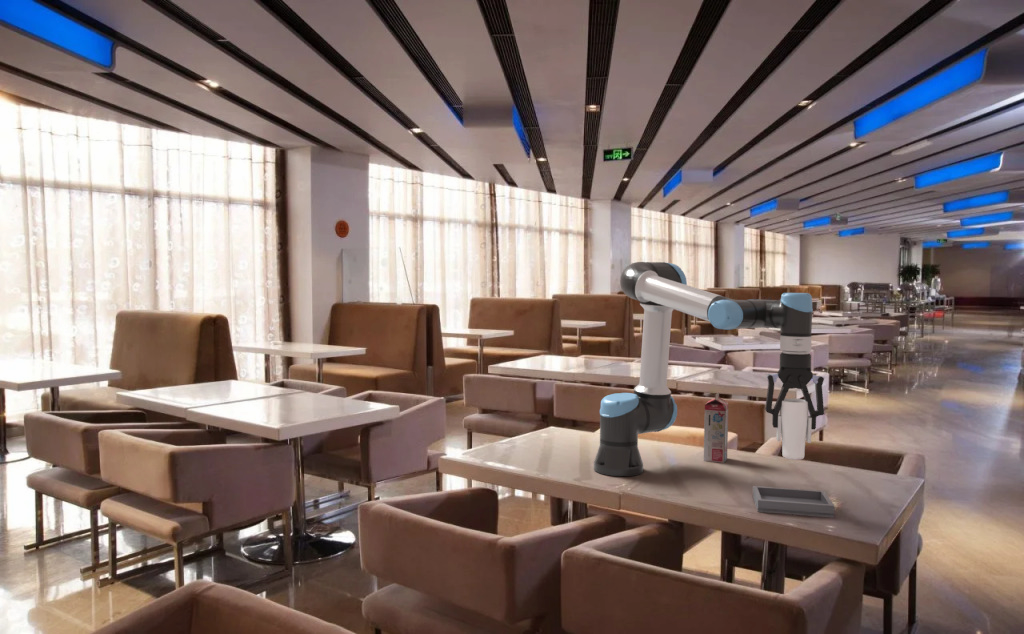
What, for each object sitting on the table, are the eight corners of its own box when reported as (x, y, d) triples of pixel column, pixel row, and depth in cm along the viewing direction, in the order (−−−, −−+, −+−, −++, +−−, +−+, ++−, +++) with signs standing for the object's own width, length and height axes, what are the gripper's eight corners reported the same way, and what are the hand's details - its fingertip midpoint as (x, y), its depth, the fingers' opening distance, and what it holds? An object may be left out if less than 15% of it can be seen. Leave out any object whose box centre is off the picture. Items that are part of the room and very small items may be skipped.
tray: (757, 511, 178) (758, 500, 178) (752, 496, 191) (753, 485, 191) (834, 517, 174) (834, 505, 174) (823, 502, 187) (824, 490, 187)
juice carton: (727, 458, 233) (728, 392, 232) (724, 462, 227) (726, 395, 226) (706, 456, 236) (708, 391, 235) (703, 460, 230) (704, 394, 229)
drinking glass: (774, 454, 185) (775, 398, 184) (799, 454, 185) (800, 398, 185) (786, 461, 178) (787, 402, 178) (812, 460, 179) (813, 402, 178)
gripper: (757, 352, 179) (755, 441, 180) (839, 354, 175) (837, 446, 176) (754, 350, 187) (752, 435, 188) (833, 352, 182) (831, 439, 183)
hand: (793, 440), depth 182 cm, fingers closed on drinking glass, 7 cm apart
